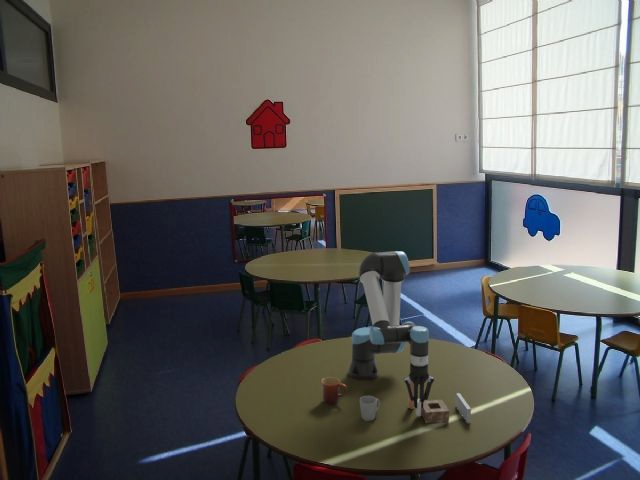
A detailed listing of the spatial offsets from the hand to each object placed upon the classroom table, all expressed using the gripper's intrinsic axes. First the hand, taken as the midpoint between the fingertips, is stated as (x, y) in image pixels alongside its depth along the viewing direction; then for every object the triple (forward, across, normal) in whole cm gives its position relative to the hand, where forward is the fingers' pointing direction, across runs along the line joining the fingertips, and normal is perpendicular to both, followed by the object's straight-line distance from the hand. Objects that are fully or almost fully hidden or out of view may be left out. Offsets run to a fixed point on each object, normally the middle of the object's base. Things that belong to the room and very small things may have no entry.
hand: (418, 414), depth 236 cm
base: (+2, +20, 0) cm, 20 cm away
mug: (+2, -34, +18) cm, 39 cm away
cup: (+2, -20, +3) cm, 21 cm away
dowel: (+2, -1, +9) cm, 9 cm away
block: (+2, +7, 0) cm, 7 cm away
